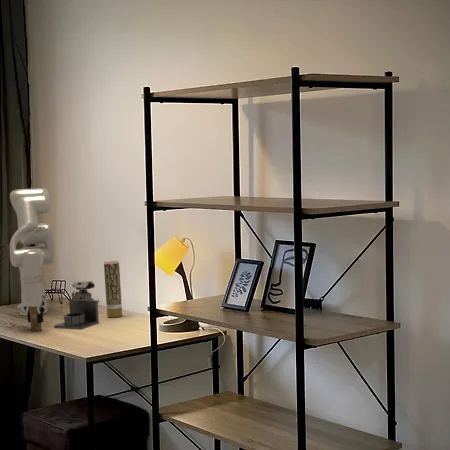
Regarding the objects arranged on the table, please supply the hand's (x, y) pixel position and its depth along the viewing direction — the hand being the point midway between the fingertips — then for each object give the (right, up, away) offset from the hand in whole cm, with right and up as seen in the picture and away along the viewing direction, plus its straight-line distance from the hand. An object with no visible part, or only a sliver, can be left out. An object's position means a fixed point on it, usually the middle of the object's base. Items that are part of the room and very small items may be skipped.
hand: (35, 321), depth 352 cm
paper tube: (+31, 0, +22) cm, 38 cm away
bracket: (+16, -2, +6) cm, 18 cm away
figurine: (+16, 0, +34) cm, 37 cm away
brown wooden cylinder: (0, -4, 0) cm, 4 cm away
